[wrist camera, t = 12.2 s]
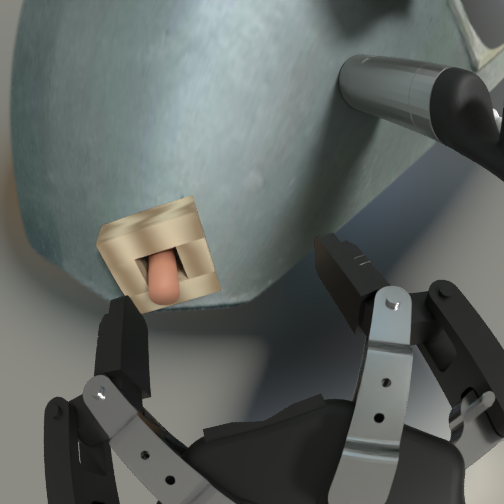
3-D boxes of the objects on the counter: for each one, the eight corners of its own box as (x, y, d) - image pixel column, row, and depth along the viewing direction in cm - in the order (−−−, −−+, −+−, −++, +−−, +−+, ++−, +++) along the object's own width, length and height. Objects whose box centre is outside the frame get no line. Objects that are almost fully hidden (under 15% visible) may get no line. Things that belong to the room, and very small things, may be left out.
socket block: (192, 195, 39) (196, 211, 35) (215, 270, 47) (221, 290, 44) (101, 225, 37) (95, 245, 33) (137, 293, 46) (137, 315, 42)
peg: (169, 234, 41) (173, 278, 33) (178, 255, 44) (184, 300, 36) (145, 242, 41) (143, 287, 33) (154, 262, 43) (155, 308, 35)
